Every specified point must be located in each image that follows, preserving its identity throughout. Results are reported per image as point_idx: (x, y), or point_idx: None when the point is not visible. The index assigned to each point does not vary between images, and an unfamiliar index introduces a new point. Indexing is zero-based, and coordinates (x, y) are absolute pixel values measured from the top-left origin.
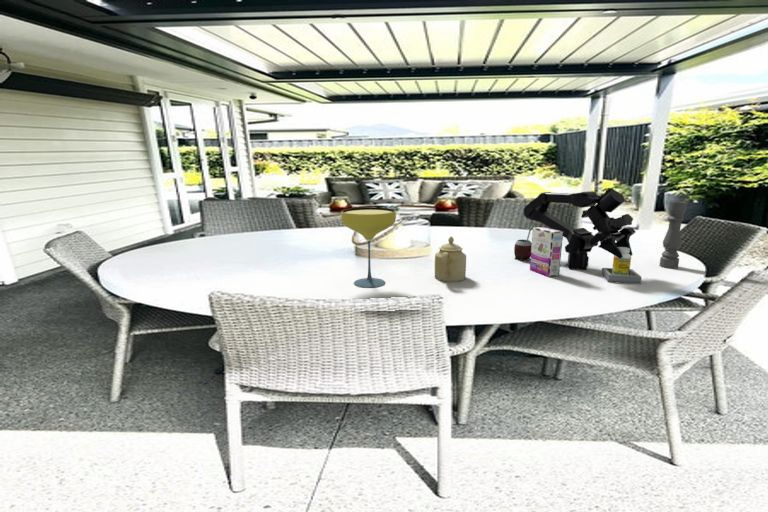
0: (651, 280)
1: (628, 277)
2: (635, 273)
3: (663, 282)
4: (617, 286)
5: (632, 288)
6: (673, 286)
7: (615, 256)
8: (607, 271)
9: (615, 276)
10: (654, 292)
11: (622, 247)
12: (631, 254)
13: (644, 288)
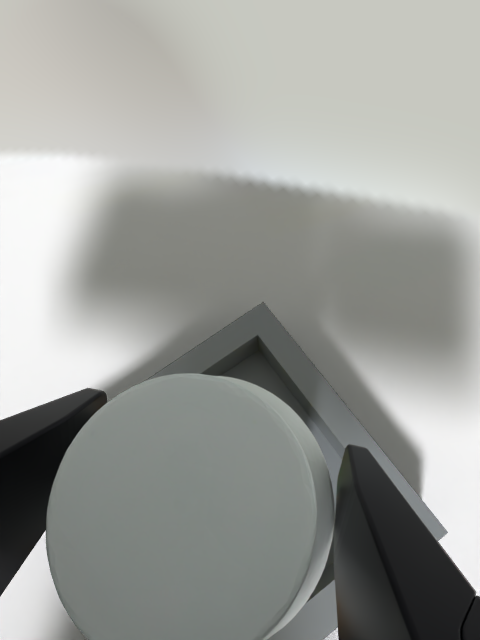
0: (113, 306)
1: (324, 383)
2: (187, 371)
3: (115, 242)
4: (475, 415)
5: (426, 321)
6: (171, 182)
7: (315, 585)
8: (314, 615)
9: (401, 476)
10: (394, 206)
11: (121, 554)
12: (103, 397)
13: (356, 270)
